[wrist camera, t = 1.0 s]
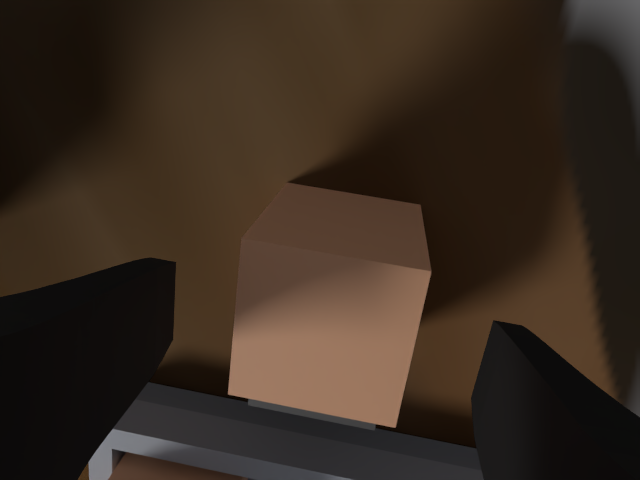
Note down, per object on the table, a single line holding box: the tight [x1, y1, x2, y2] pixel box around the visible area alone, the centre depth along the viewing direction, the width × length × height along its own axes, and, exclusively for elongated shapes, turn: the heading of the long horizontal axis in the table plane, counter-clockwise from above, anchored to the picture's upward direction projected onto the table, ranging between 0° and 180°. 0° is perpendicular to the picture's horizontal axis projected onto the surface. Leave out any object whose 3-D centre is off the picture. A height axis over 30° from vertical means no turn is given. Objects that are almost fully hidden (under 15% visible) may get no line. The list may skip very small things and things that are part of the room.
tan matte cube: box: [228, 183, 432, 431], centre depth 14 cm, size 5×4×5 cm
